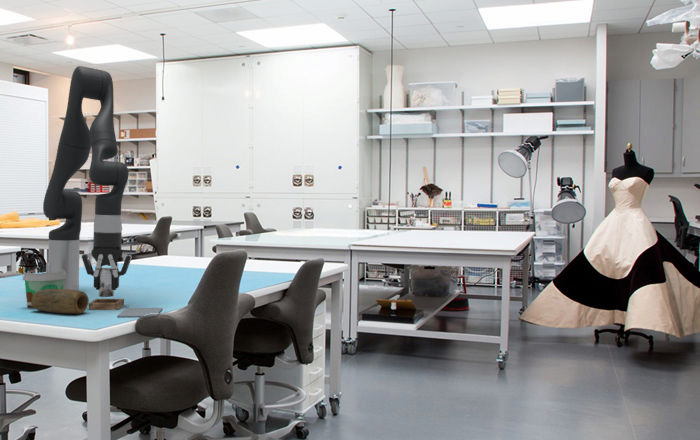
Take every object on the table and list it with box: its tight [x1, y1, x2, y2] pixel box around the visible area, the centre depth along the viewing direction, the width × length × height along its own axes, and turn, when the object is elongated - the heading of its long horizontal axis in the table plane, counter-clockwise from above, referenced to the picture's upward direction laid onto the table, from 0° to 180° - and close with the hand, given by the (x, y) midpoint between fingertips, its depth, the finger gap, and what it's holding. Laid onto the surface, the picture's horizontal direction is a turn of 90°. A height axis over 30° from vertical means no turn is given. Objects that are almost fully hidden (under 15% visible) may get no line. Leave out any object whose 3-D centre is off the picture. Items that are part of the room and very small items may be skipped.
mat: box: [116, 307, 163, 318], centre depth 170 cm, size 10×12×1 cm
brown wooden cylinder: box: [31, 289, 90, 315], centre depth 167 cm, size 15×7×7 cm, turn 78°
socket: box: [88, 298, 125, 311], centre depth 177 cm, size 8×8×2 cm
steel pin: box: [98, 267, 115, 298], centre depth 177 cm, size 4×4×8 cm
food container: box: [22, 269, 67, 309], centre depth 175 cm, size 12×6×10 cm, turn 148°
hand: (106, 289), depth 177 cm, fingers closed on steel pin, 4 cm apart
